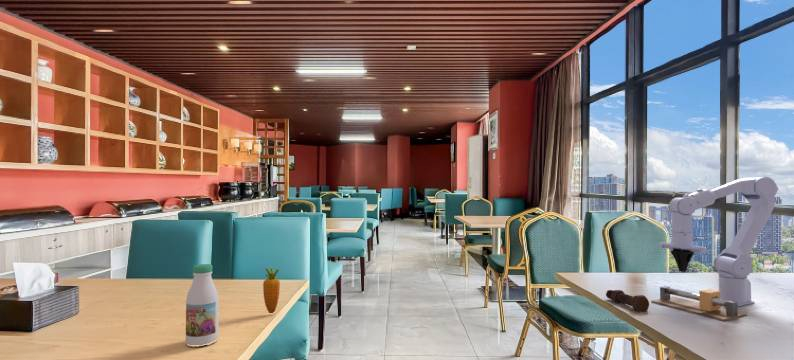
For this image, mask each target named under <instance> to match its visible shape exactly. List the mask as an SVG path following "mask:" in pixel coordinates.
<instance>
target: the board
mask: <svg viewBox="0 0 794 360" xmlns="http://www.w3.org/2000/svg"><path fill="white" fill-rule="evenodd" d="M650 303H653V304H656V305H660V306H664V307H667V308H668V307H669V308H672V309H676V310H679V311H683V312H688V313H691V314H695V315H699V316H703V317H706V318H710V319H714V320H718V321H722V322H727V321H731V320H735V319H739V318H743V317H746V316H748V315H747V314H748V313H746V312H742V311H738V316H734V317H731V316H727V315H726V308H725V307H721V309H719V310H715V311H706V310H702V309H700V305H699V301H695V300H691V299H690V300H689V299H687V298H685V299H684V298H683V297H682V298H681V297H678V296H670V299H669V300H662V299H660V298H658V299H653V300H651V301H650Z"/></svg>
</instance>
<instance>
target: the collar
mask: <svg viewBox="0 0 794 360" xmlns="http://www.w3.org/2000/svg"><path fill="white" fill-rule="evenodd" d="M698 292H699V293H698V294H699V301H698V302H699V305H700V309H702V310H706V311H715V310H719V309H721V308H722V306H720V305H715V304H713V300H712V297H713V298H718V299H721V296H720V291H719V289H718V290H717V289H713V288H712V289H711V288H708V289H704V290H703V289H702V290H699V291H698Z"/></svg>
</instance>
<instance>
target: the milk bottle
mask: <svg viewBox="0 0 794 360" xmlns="http://www.w3.org/2000/svg"><path fill="white" fill-rule="evenodd" d="M212 274H213V265H212V264H209V263H205V264H204V263H203V264H196V265H193V267H192V275H193V280H192V283H191V285H190V288H189V290H188V291H187V295H186V301H185V303H186V304H185V344H186V343H187V344H189V345H203V344H207V343H210V342H212V341H214V340H216V339H217V338H218V337H219V325H220V323H219V322H220V321H219V319H220V316H219V309H220V307H219V304H220V303H219V302H220V301H219V293H218V289H217V288H216V285H215V283H214V281H213V277H212ZM218 339H219V338H218ZM187 344H186V345H187Z"/></svg>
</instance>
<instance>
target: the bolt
mask: <svg viewBox="0 0 794 360" xmlns="http://www.w3.org/2000/svg"><path fill="white" fill-rule="evenodd" d="M605 297H607V299H609V300H612V302H613V303H614V304H624V305H627V306H629V307H632V308H633V310H634V312H637V313H643V312H644V313H645V312H647V311H648V310H649V307H650V301H649V299H648V297H646V295H643V294H642V295H641V294H640V295H638V294H637V295H634V296H633V295H629V294H626V293H625V292H624V291H623V290H621V289H615V290H612V289H609V290H607V291H606V292H605Z"/></svg>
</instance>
